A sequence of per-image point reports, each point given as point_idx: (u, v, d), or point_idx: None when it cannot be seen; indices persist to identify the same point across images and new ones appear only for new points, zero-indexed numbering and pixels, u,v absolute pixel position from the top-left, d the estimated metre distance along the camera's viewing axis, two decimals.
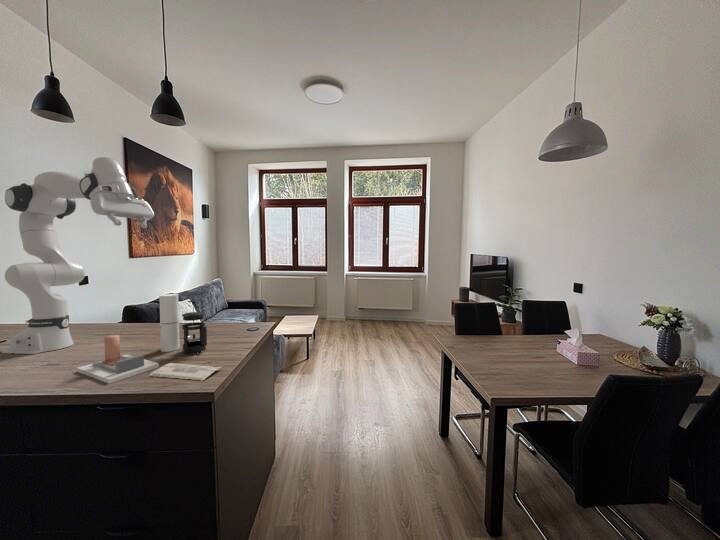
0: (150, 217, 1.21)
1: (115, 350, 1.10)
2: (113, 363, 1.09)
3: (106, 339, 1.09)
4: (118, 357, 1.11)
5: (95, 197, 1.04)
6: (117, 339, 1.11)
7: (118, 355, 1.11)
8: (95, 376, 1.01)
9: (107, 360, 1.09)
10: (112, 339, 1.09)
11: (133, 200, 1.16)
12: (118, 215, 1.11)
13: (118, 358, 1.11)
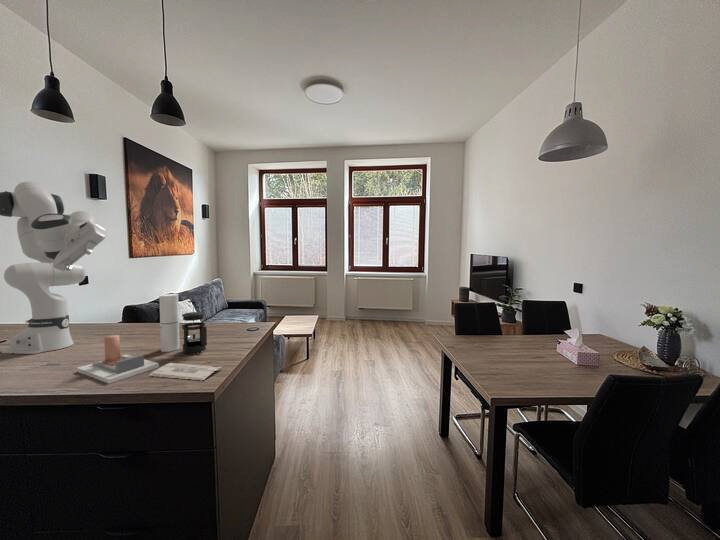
0: (62, 268, 1.07)
1: (115, 350, 1.10)
2: (113, 363, 1.09)
3: (106, 339, 1.09)
4: (118, 357, 1.11)
5: (103, 231, 1.10)
6: (117, 339, 1.11)
7: (118, 355, 1.11)
8: (95, 376, 1.01)
9: (107, 360, 1.09)
10: (112, 339, 1.09)
11: None
12: (80, 246, 1.05)
13: (118, 358, 1.11)
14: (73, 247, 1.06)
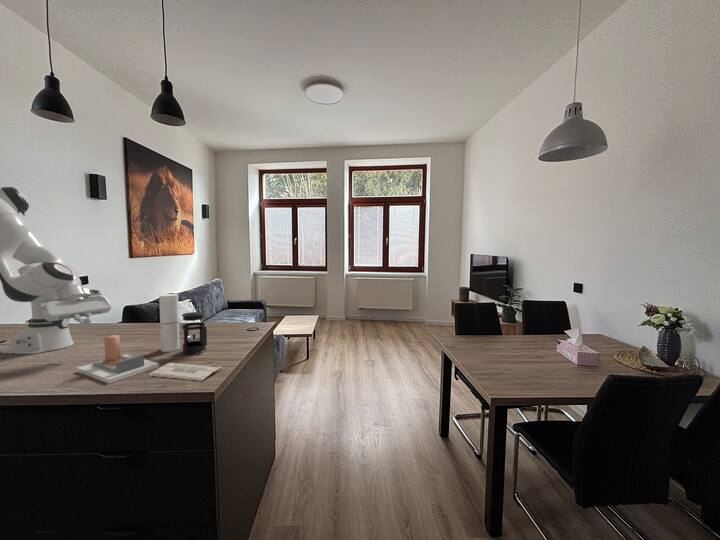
0: (52, 319, 1.12)
1: (115, 350, 1.10)
2: (113, 363, 1.09)
3: (106, 339, 1.09)
4: (118, 357, 1.11)
5: None
6: (117, 339, 1.11)
7: (118, 355, 1.11)
8: (95, 376, 1.01)
9: (107, 360, 1.09)
10: (112, 339, 1.09)
11: None
12: None
13: (118, 358, 1.11)
14: (81, 307, 1.19)
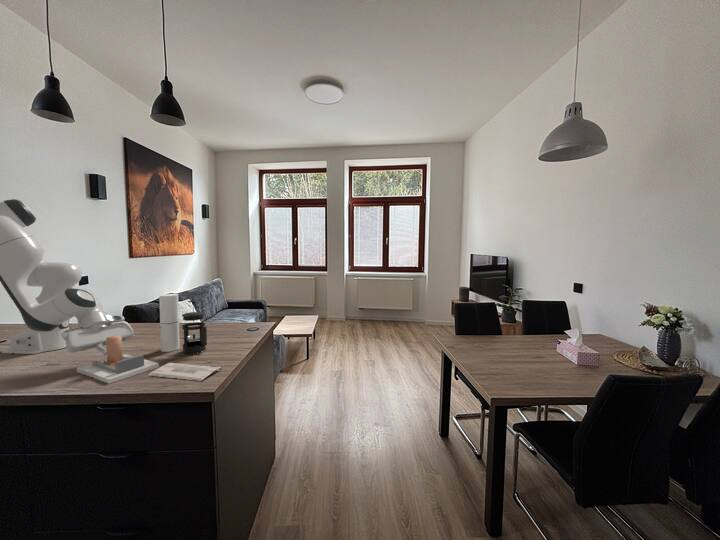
0: (75, 350, 1.05)
1: (117, 351, 1.09)
2: None
3: (108, 340, 1.08)
4: (120, 358, 1.11)
5: None
6: (119, 340, 1.10)
7: (120, 356, 1.11)
8: (95, 376, 1.01)
9: (109, 361, 1.08)
10: (114, 340, 1.08)
11: None
12: None
13: (120, 359, 1.11)
14: (103, 336, 1.12)
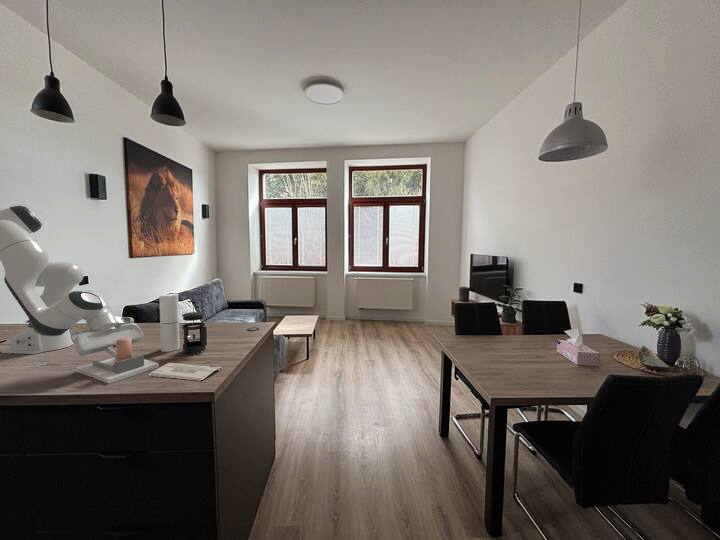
0: (85, 353, 1.02)
1: (127, 353, 1.07)
2: None
3: (118, 342, 1.05)
4: None
5: None
6: (129, 342, 1.07)
7: None
8: (95, 376, 1.01)
9: None
10: (124, 342, 1.06)
11: None
12: None
13: None
14: (113, 338, 1.10)
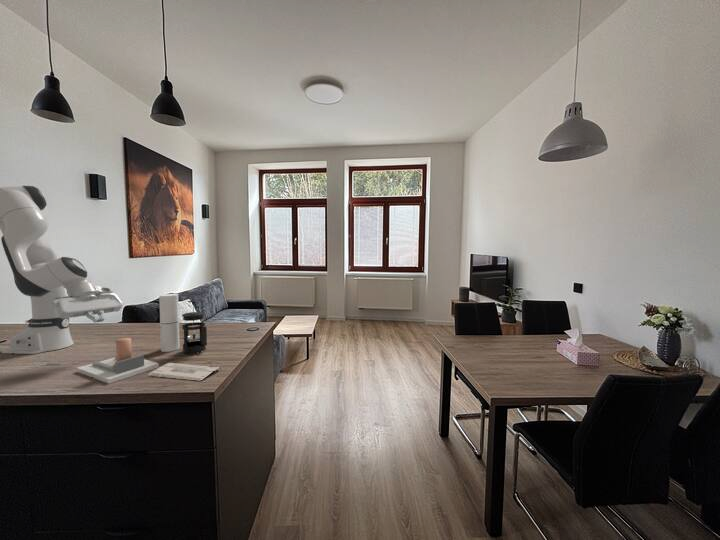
0: (66, 316, 1.09)
1: (127, 353, 1.07)
2: None
3: (118, 342, 1.05)
4: None
5: None
6: (129, 342, 1.07)
7: None
8: (95, 376, 1.01)
9: None
10: (124, 342, 1.06)
11: None
12: None
13: None
14: (93, 305, 1.17)
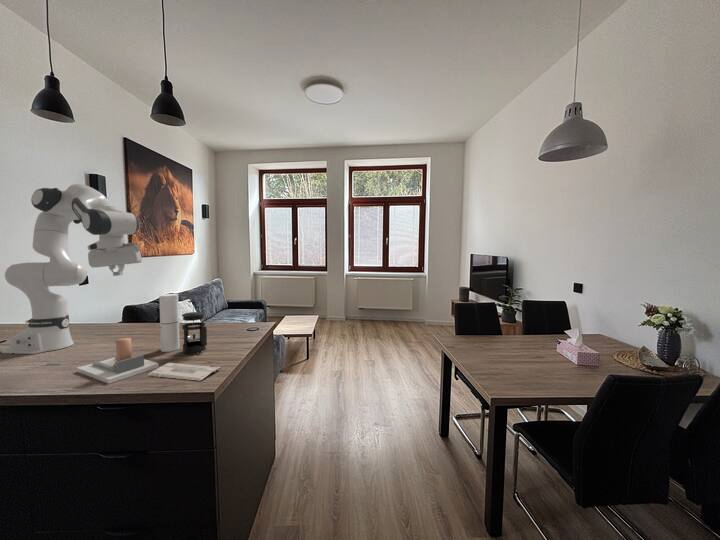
0: None
1: (127, 353, 1.07)
2: None
3: (118, 342, 1.05)
4: None
5: None
6: (129, 342, 1.07)
7: None
8: (95, 376, 1.01)
9: None
10: (124, 342, 1.06)
11: (119, 249, 1.27)
12: None
13: None
14: None
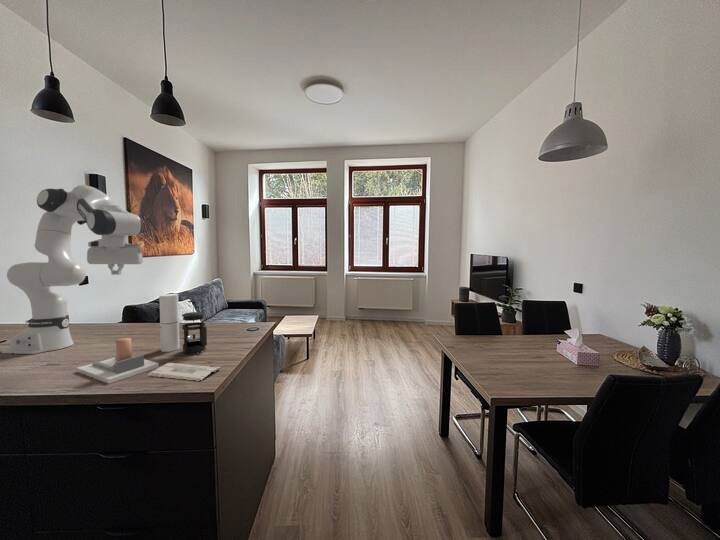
0: None
1: (127, 353, 1.07)
2: None
3: (118, 342, 1.05)
4: None
5: None
6: (129, 342, 1.07)
7: None
8: (95, 376, 1.01)
9: None
10: (124, 342, 1.06)
11: (121, 249, 1.27)
12: None
13: None
14: None
